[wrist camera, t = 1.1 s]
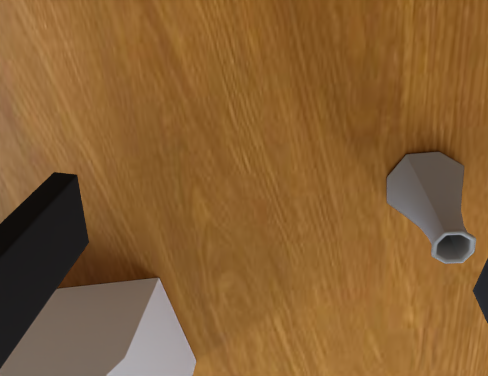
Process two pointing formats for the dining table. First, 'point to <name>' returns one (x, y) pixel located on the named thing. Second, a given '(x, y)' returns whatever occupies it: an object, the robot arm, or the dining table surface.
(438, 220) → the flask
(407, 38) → the dining table surface
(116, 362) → the white pentagonal block
